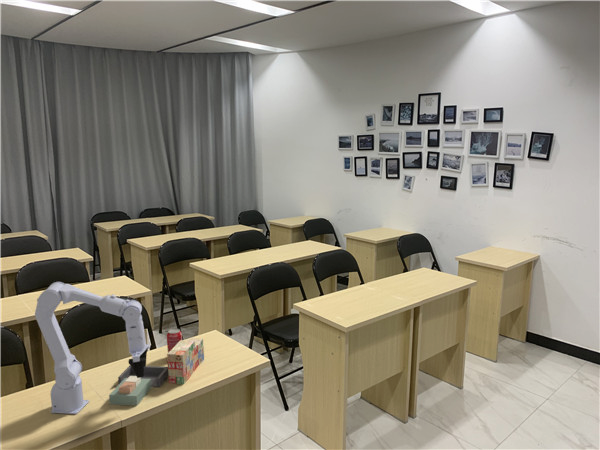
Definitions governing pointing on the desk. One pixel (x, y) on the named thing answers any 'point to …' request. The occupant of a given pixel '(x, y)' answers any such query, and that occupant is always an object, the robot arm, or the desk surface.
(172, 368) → the stack of blocks
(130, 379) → the cream tile
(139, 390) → the sage green slab
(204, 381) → the desk surface
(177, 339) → the beverage can
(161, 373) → the tray
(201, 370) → the desk surface
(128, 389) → the terracotta tile
